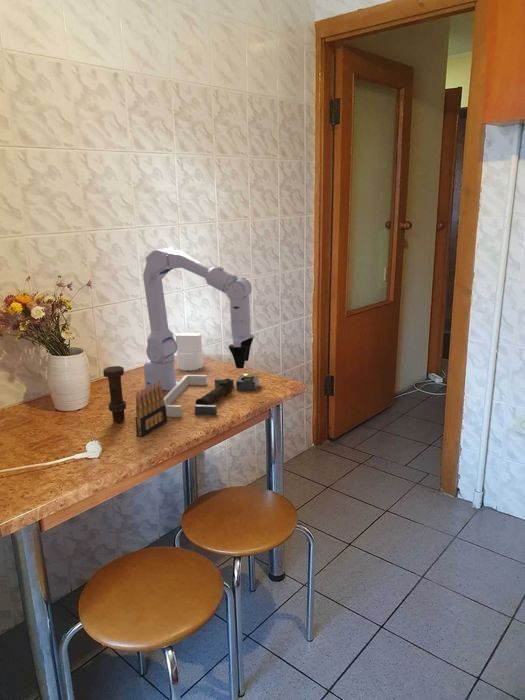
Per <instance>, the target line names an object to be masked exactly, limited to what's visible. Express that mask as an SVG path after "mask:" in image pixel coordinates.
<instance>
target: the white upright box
mask: <svg viewBox="0 0 525 700" xmlns="http://www.w3.org/2000/svg"><path fill="white" fill-rule="evenodd" d="M175 341H176V343H177V351H176V359H177V369H178V370H180V371H187V370H188V371H197V370H199V368H200V369H202V368H203V367H204V363H203V362H204V360H203V359H204V357H203V343H202V342H203V341H202V333H186V332H185V333H182V332H181V333H176V334H175ZM196 369H197V370H196Z"/></svg>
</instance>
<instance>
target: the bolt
mask: <svg viewBox="0 0 525 700" xmlns="http://www.w3.org/2000/svg"><path fill="white" fill-rule="evenodd" d="M124 369H125V367H123V366H120V365H113V366H107V367H105V368H104V369H103V372H102V373H103V374H102V375H103V378H107V381H108V385H109V386H108V387H109V388H108V389H109V396H110V397H109V398H110V402H109V403H108V411H110V412H111V413H112V421H113V422H114V423H115V424H121V423H122V422H124V421H125V420H126V419H125V418H126V416H125V410H126V409H127V402H126V401H125V399H124V397H123V389H122V386H123V385H122V376H124V374H125V370H124Z"/></svg>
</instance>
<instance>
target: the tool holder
mask: <svg viewBox="0 0 525 700" xmlns="http://www.w3.org/2000/svg"><path fill="white" fill-rule="evenodd" d="M224 379H225V378H215V379H214V389H215V388H217V387H218V386H219V382H221V381H223V380H224ZM229 379H230V380H231V389H234V388H235V387H236V391H239V392H257V389H258V388H259V385H260V384H259V381H260V380H259V379H260V378H259V375H253V377H252V378H251V381H244V378H242V374H240V375H239V376H238V378H237V379H236V381H235V379H233V378H229ZM235 385H236V386H235ZM217 406H218V405H217V404H213V405H196V404H195V405H194V415H195V416H196V415H198V416H217V415H216V414H218V408H217Z"/></svg>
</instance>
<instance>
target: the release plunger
mask: <svg viewBox="0 0 525 700" xmlns="http://www.w3.org/2000/svg"><path fill="white" fill-rule="evenodd" d="M241 375H242V378H244V381H251V378H252V377H253V376H254V373H253V372H249V371H248V372H243V373H242V372H241Z"/></svg>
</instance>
